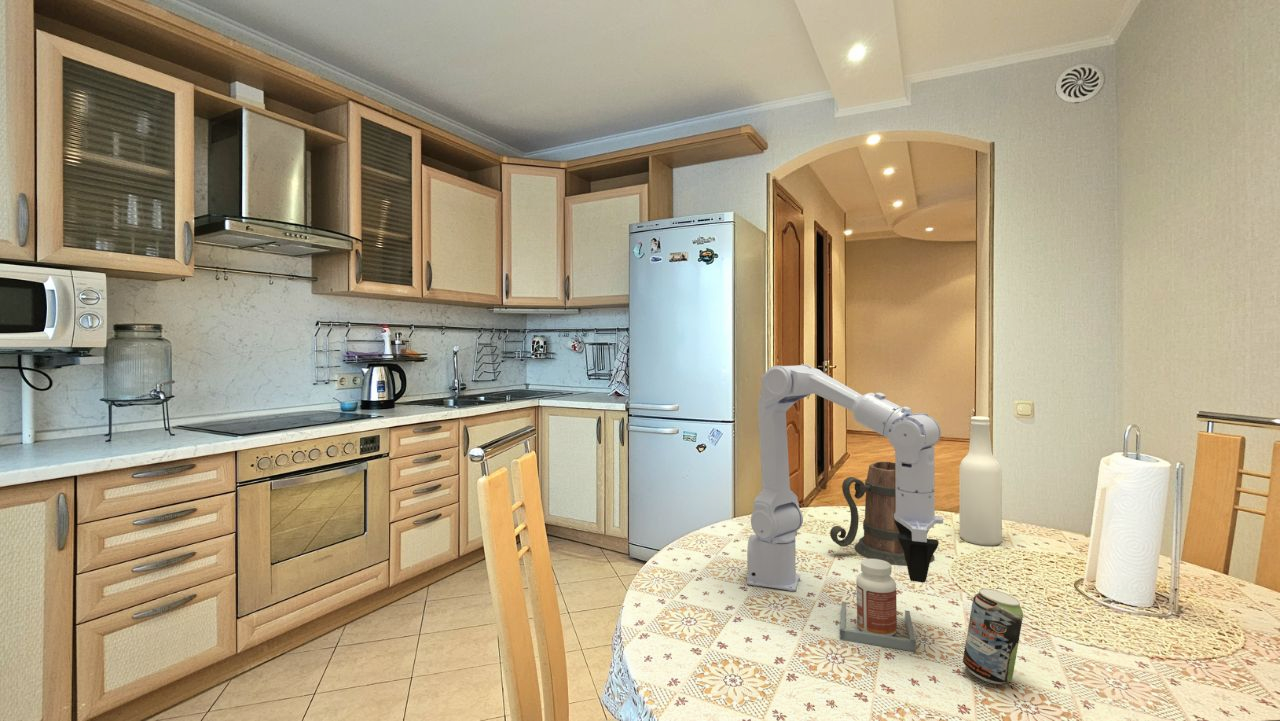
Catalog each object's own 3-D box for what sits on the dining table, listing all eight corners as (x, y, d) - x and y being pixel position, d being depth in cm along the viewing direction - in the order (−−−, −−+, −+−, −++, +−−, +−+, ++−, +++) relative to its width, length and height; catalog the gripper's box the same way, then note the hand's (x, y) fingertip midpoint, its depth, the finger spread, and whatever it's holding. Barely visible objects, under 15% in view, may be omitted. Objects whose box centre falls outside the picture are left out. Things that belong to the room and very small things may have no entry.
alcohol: (1010, 546, 131) (1010, 419, 130) (972, 546, 131) (972, 419, 130) (987, 534, 139) (987, 414, 139) (952, 534, 140) (951, 415, 139)
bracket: (840, 639, 90) (840, 630, 90) (841, 609, 100) (841, 601, 100) (915, 651, 86) (915, 642, 86) (909, 619, 96) (909, 610, 96)
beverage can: (953, 666, 82) (953, 585, 82) (1000, 663, 83) (1000, 582, 82) (983, 692, 76) (983, 604, 75) (1034, 688, 76) (1034, 602, 76)
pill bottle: (904, 631, 92) (904, 564, 92) (883, 642, 89) (882, 573, 88) (870, 616, 97) (870, 553, 97) (849, 627, 94) (848, 561, 94)
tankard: (904, 537, 138) (903, 457, 137) (952, 563, 121) (952, 471, 121) (815, 543, 134) (814, 461, 134) (852, 570, 118) (851, 476, 117)
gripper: (949, 502, 82) (949, 593, 82) (936, 480, 96) (936, 559, 96) (897, 498, 85) (897, 586, 85) (891, 477, 98) (892, 554, 98)
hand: (915, 571), depth 91 cm, fingers open, 7 cm apart
